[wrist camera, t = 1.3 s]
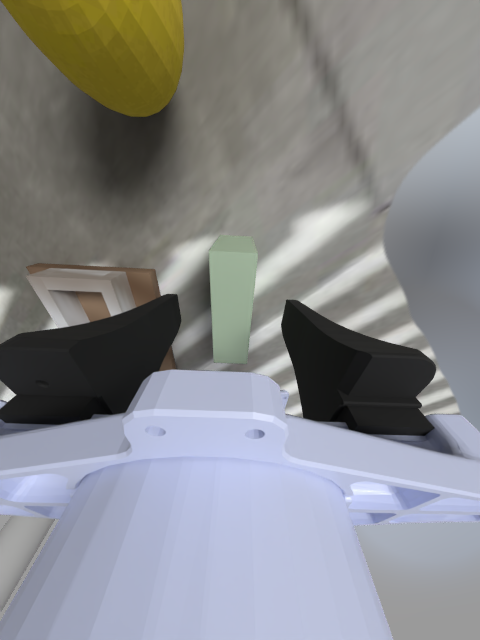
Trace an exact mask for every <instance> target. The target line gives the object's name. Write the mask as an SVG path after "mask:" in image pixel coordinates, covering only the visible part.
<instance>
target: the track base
mask: <svg viewBox="0 0 480 640" xmlns="http://www.w3.org/2000/svg"><path fill="white" fill-rule="evenodd" d="M26 268H27V269H28V271H29V273H30V274H31V275H28V276H26V277H27V279H28V281H29V282H30V284H31V285H32V287H33V288H34V290H35V292H36V293H37V295H38V296H39V298H40V300H41V301H42V303H43V304H44V306H45V308H46V309H47V311H48V312H49V314H50V316H51V317H52V319H53V320H54V322H55V324H56V325H57V327H58V328H63V327H69V326H74V325H79V324H84V323H89V322H93V321H96V320H100V319H104V318H108V317H111V316H114V315H117V314H121V313H123V312H126V311H129V310H131V309H133V308H136V307H138V306H141V305H143V304H145V303H147V302H150V301H152V300H154V299H156V298H158V297H161V295H160V291H159V286H158V281H157V277H156V272H155V269H138V268H119V267H99V266H79V265H59V264H40V263H38V264H34V265H30V266H27V267H26ZM172 369H176V366H175V361H174V356H173V352H172V347H171V346H170V348H169V350H168V352H167V354H166V356H165V358H164V360H163V362H162V365H161V367H160V370H159V371H165V370H172Z"/></svg>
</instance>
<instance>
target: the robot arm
mask: <svg viewBox="0 0 480 640" xmlns="http://www.w3.org/2000/svg"><path fill="white" fill-rule="evenodd" d="M180 324H181V315H180V309H179V302H178V296H177V294H166V295H163V296H161V297H158V298H156V299H154V300H152V301H150V302H147V303H145V304H143V305H141V306H138V307H136V308H133V309H131V310H129V311H126V312H123V313H121V314H117V315H114V316H111V317H108V318H104V319H100V320H96V321H93V322H89V323H84V324H79V325H74V326H69V327H63V328H57V329H50V330H43V331H35V332H27V333H21V334H18V335H16V336H14V337H12V338H11V339H9V340H7V341H5V342H4V343H2V344H0V380H1V381H2V382H3V383H4V384H5V385H6V386H7V387H9V388H10V389H11V390H12V391H13V392H14V393H15V394H16V396H15V397H14V398H12V399H11V400H10V401H9V402H6V401H3V400H0V515H12V516H24V517H37V518H49V519H59V521H58V523H57V524H56V526H55V528H54V529H53V531H52V533H51V535H50V536H49V538H48V540H47V542H46V543H45V545H44V547H43V548H42V550H41V552H40V554H39V556H38V557H37V559H36V561H35V562H34V564H33V566H32V567H31V569H30V571H29V573H28V574H27V576H26V578H25V580H24V581H23V583H22V585H21V586H20V588H19V590H18V592H17V593H16V595H15V597H14V599H13V600H12V602H11V604H10V606H9V607H8V609H7V611H6V612H5V614H4V616H3V617H2V619H1V621H0V640H393V637H392V634H391V632H390V629H389V626H388V623H387V620H386V617H385V615H384V611H383V609H382V606H381V603H380V600H379V597H378V594H377V591H376V589H375V586H374V583H373V580H372V577H371V575H370V571H369V569H368V566H367V563H366V560H365V557H364V554H363V551H362V549H361V546H360V543H359V540H358V537H357V534H356V532H355V529H354V526H359V525H380V524H401V523H428V522H480V432H479V431H478V430H477V429H476V428H475V427H474V426H473V425H471V424H470V422H468V421H467V420H466V419H465V418H464V417H463V416H462V415H458V414H430V415H426V416H424V415H423V414H422V413H421V412H420V410H419V409H418V408H421V407H422V404H421V403H420V402H419V401H418V400H417V398H416V396H417V395H418V394H419V393H420V392H421V391H422V390H423V389H424V388H425V387H426V386H427V385H428V384H429V383H430V382H431V380H432V379H433V378H434V375H435V373H436V365H435V364H434V363H433V361H432V360H431V359H429V358H428V357H427V356H426V355H424V354H423V353H422V352H421V351H419V350H417V349H413V348H409V347H405V346H401V345H396V344H392V343H388V342H385V341H381V340H378V339H375V338H371V337H368V336H365V335H363V334H360V333H357V332H354V331H352V330H349V329H347V328H345V327H343V326H340V325H338V324H336V323H334V322H332V321H330V320H328V319H327V318H325V317H323V316H321V315H320V314H318V313H316V312H315V311H313V310H312V309H310V308H309V307H307V306H305V305H304V304H302V303H301V302H299V301H297V300H286V305H285V309H284V314H283V319H282V323H281V327H282V333H283V338H284V341H285V344H286V347H287V349H288V352H289V355H290V358H291V361H292V364H293V367H294V371H295V375H296V380H297V384H298V389H299V394H300V400H301V406H302V412H303V418H301V417H297V416H293V415H289V414H285V411H284V409H285V406H286V403H287V400H288V397H289V393H288V392H287V391H280V387H279V385H278V384H277V383H276V382H274V381H273V380H272V379H271V378H269V377H268V376H265V375H260V374H256V373H251V372H229V371H203V370H177V369H172V370H165V371H159V370H160V367H161V365H162V362H163V360H164V358H165V356H166V354H167V352H168V350H169V348H170V346H171V345H172V343H173V341H174V339H175V337H176V335H177V333H178V330H179V327H180Z"/></svg>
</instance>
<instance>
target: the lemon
mask: <svg viewBox="0 0 480 640" xmlns="http://www.w3.org/2000/svg"><path fill="white" fill-rule="evenodd" d="M1 2H2V3H3V4H4V6H5V7H6V9H7V10H8V11H9V13H10V14H11V15H12V17H13V18H14V19H15V21H16V22H17V23H18V25H19V26H20V27H21V28H22V30H23V31H24V32H25V33H26V35H27V36H28V37H29V38H30V39H31V40H32V42H33V43H34V44H35V45H36V46H37V47H38V48H39V49H40V50H41V52H42V53H43V54H44V55H45V56H46V57H47V58H48V59H49V60H50V61H51V62H52V63H53V64H54V65H55V66H56V67H57V68H58V69H59V70H60V71H61V72H62V73H63V74H64V75H65V76H66V77H67V78H68V79H69V80H70V81H71V82H72V83H73V84H74V85H76V86H77V87H78V88H79V89H80V90H82V91H83V92H85V93H86V94H88V95H89V96H90V97H92V98H93V99H95V100H96V101H98V102H99V103H101V104H102V105H104V106H105V107H107V108H109V109H111V110H114V111H117V112H119V113H122V114H125V115H127V116H132V117H147V116H150V115H153V114H155V113H158V112H159V111H161V110H162V109H163V108H164V107H165V106H166V105H167V104H168V103H169V102H170V100H171V98H172V97H173V95H174V93H175V91H176V89H177V86H178V82H179V79H180V75H181V72H182V63H183V54H184V32H183V13H182V4H181V0H1Z"/></svg>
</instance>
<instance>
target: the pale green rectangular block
mask: <svg viewBox="0 0 480 640" xmlns="http://www.w3.org/2000/svg"><path fill="white" fill-rule="evenodd" d="M257 258H258V252H257V249H256V247H255V244H254V241H253V238H252V237H246V236H228V235H220V236H219V238H218V239H217V240H216V242H215V243H214V244H213V246H212V247H211V248H210V250H209V267H210V290H211V312H212V335H213V357H214V363H236V364H247V358H248V348H249V338H250V328H251V318H252V308H253V298H254V288H255V278H256V268H257Z"/></svg>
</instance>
